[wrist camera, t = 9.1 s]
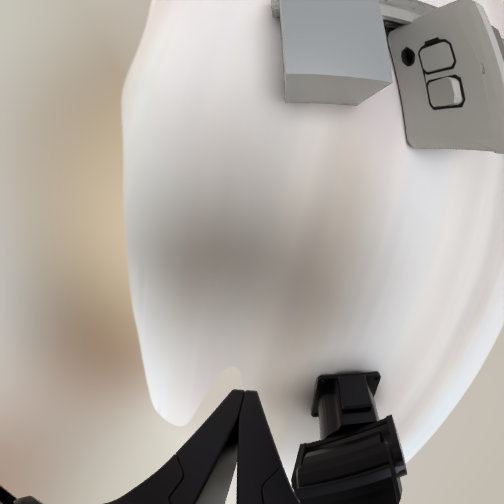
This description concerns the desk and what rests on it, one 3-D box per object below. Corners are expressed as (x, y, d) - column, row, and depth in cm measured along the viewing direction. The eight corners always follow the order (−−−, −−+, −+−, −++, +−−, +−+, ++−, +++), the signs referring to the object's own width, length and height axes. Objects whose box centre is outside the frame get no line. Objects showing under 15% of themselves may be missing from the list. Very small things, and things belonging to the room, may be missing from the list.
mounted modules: (520, 144, 14) (570, 151, 8) (285, 102, 17) (286, 73, 10) (512, 74, 12) (558, 66, 5) (279, 16, 14) (276, -36, 8)
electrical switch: (383, 34, 14) (448, -17, 5) (434, 45, 13) (505, 14, 5) (405, 148, 17) (495, 153, 8) (454, 150, 16) (540, 160, 8)
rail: (517, 85, 12) (539, 82, 9) (273, 27, 15) (271, 5, 11) (512, 64, 11) (533, 59, 8) (272, 3, 14) (269, -20, 11)
